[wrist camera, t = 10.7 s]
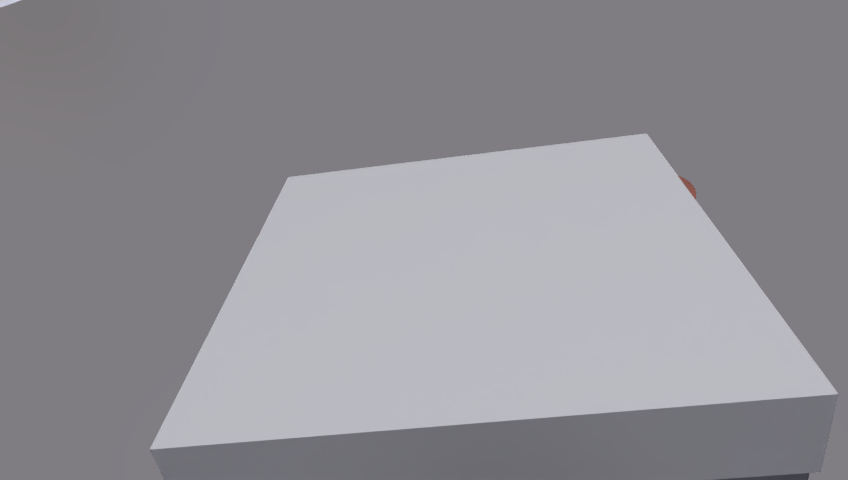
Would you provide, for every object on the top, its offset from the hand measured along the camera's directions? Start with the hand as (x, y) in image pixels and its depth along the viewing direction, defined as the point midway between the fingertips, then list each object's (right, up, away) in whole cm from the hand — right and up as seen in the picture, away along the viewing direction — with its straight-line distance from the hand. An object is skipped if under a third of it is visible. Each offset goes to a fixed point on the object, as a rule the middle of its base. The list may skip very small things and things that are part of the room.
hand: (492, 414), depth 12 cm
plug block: (+1, -7, +1) cm, 7 cm away
